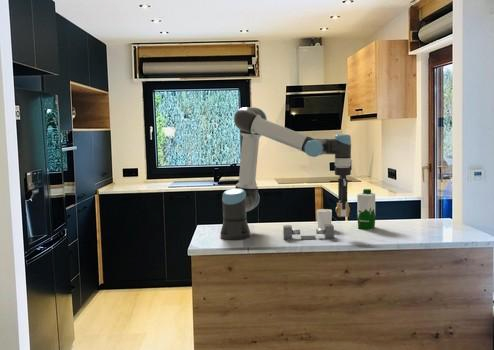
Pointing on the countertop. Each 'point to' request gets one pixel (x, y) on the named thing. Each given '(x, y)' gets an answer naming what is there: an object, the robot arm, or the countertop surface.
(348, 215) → the coupler
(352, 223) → the countertop surface
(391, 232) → the countertop surface
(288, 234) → the bearing
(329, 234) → the grey knob with stem
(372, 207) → the milk carton
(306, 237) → the pad
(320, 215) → the white cup
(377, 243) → the countertop surface
